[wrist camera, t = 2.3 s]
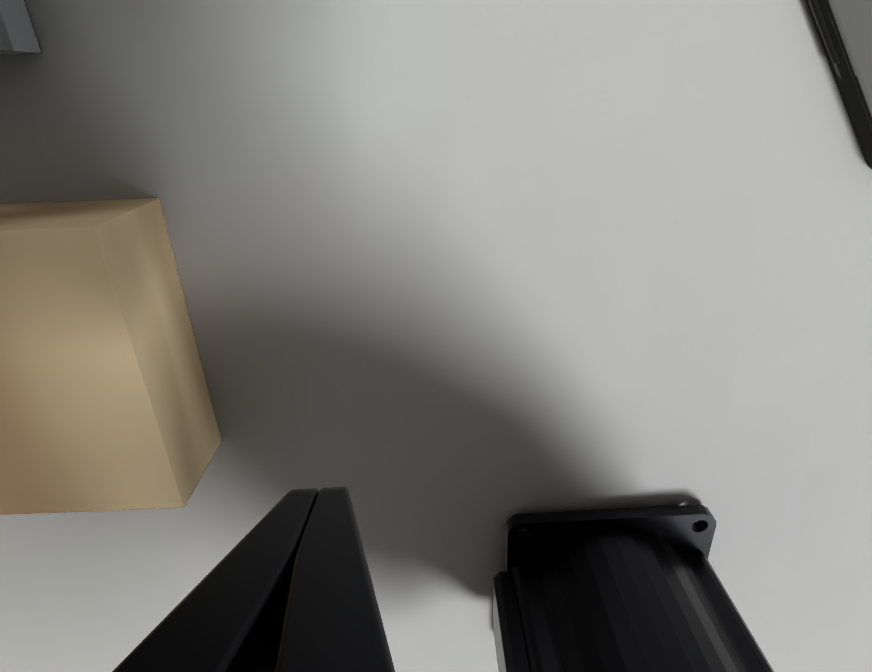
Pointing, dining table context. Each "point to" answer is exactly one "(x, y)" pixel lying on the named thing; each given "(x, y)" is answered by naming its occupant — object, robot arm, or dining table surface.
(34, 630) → the dining table surface
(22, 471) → the tan beveled block
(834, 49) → the smartphone
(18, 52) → the tray
